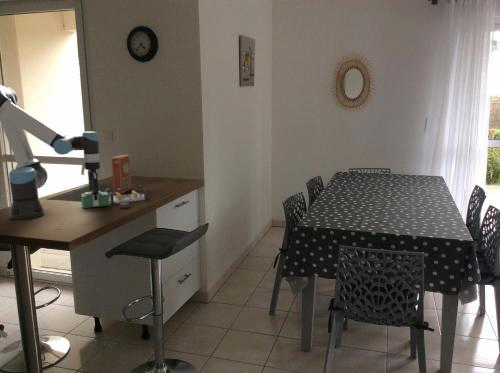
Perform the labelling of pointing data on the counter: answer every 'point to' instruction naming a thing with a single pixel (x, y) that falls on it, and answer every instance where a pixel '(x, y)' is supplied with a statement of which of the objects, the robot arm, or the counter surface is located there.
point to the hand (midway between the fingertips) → (94, 204)
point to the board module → (88, 199)
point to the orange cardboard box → (121, 173)
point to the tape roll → (124, 205)
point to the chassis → (128, 196)
